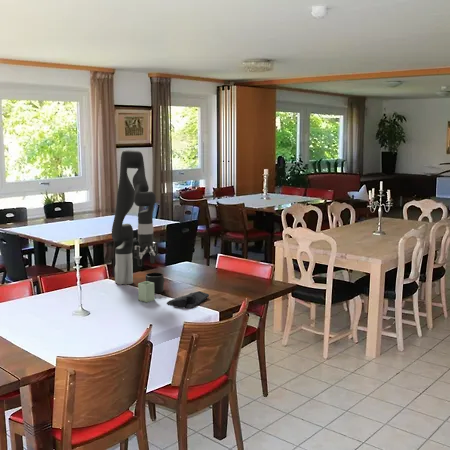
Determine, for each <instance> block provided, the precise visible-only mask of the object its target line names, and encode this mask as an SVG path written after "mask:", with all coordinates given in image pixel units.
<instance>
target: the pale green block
mask: <svg viewBox="0 0 450 450" xmlns="http://www.w3.org/2000/svg"><path fill="white" fill-rule="evenodd" d="M137 287H138V289H137V290H138V291H137V292H138V294H137V295H138V302H142V303H145V304H148V303H150V302H154V301H155V293H154V283H153V282H148V281H146V280H145V281H142V282H138V284H137Z"/></svg>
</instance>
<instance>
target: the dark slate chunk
mask: <svg viewBox="0 0 450 450" xmlns="http://www.w3.org/2000/svg"><path fill="white" fill-rule="evenodd" d="M209 296H210V294H208V293H206V292H203V291H195V292H190V293H188V294H186V295H182V296H180V297H176V298H173V299H171V300H168V301H167V302H166V304H167V306H170V307H175V308H179V309H189V310H191V309H193V308H194V307H197V306H199V305H200V304H201V303H203V302H204V301H206V299H207V298H209Z"/></svg>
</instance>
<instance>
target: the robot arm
mask: <svg viewBox="0 0 450 450" xmlns="http://www.w3.org/2000/svg"><path fill="white" fill-rule="evenodd" d="M119 165H120V166H119V167H120V169H119V181H118V182H119V183H118V187H117V188H118V189H117V196H116V203H115V204H116V205H115V212H114V217H113V221H112V227H111V237H112V240H113V241H114V242H122V243H121V244H120V245H118V246H117V247H115V249H114V250H115V251H114V253H115V266H114V283H117V284H116V285H119V284H128V285H131V284H133V283H134V279H133V278H134V277H133V274H134V272H133V266H134V265H133V259H137V260H136V262H137V267H142V266H143V256H145V254H147V253H149V256H150V257H149V258H150V260H149V262H150V264H155V262H156V255H157V254H159V250H158V249H159V248H158V242H157V241H156V242H155V241H154V223H153V222H154V220H153V215H154V214H153V213H154V209H155V205H156V200H157V196H156V193H154V192H153V191H149V189H150V187H149V183H148V181H147V178H146V169H145V160H144V156H143V154H142V152H141V151H138V150H125V149H124V150H122V153H121V155H120V164H119ZM128 169H137V171H136V172H135V174H134V175H133V177H132V182H131V181H130V180H131V179H130V178H129V175H128ZM134 205H135V206H136V207H147V208H146V209H144V210H140V211H138V213H137V242H138V245H134V228H133V226H132V224H130V223H124V219H125V217H126V216H127V215H128V213H129V212H130V211H131V209H132V208H133V206H134Z"/></svg>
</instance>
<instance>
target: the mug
mask: <svg viewBox="0 0 450 450" xmlns="http://www.w3.org/2000/svg"><path fill="white" fill-rule="evenodd" d="M145 281H148V282H153V283H154V294H160V293H163V292H164V290H165V289H164V284H165V278H164V273H162V272H148V273H146V274H145Z"/></svg>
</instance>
